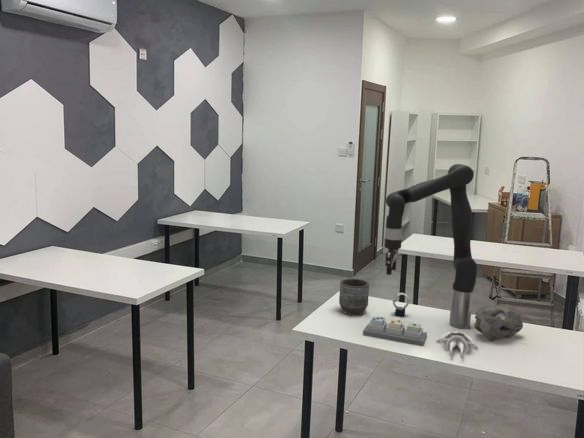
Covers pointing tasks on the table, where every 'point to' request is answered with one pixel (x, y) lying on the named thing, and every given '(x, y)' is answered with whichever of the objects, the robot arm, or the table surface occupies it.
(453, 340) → the figurine
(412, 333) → the keypad
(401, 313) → the watch
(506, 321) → the fossil
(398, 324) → the button two
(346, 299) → the planter
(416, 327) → the button one
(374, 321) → the button three
